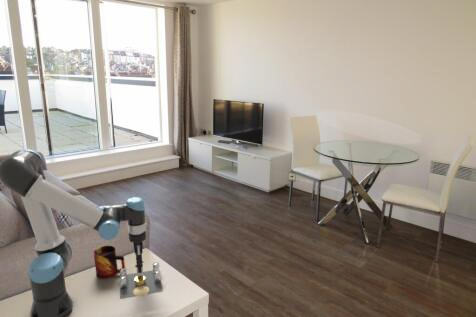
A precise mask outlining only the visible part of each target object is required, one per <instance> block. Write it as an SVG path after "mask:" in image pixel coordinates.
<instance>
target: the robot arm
mask: <svg viewBox="0 0 476 317" xmlns="http://www.w3.org/2000/svg"><path fill="white" fill-rule="evenodd" d="M44 164H45V162H44V159H43V157H42V155H41V154H40V153H38V152H37V151H35V150H33V149H30V148H24V149H20V150H19V149H18V151H17V150H16V151H14V152H13V153H12V154H10V155H9V156H7V157H6V158H5V159H3V160H2V161H1V162H0V182H1V184H2V185H4V186H5V187H6V188H7V189H9V190H10V191H12V192H14V193H16V194H17V195H19V196H20V197H21V201H22V203H23V207H24V209H25V212H26V214H27V218H28V220H29V223H30V226H31V228H32V232H33V233H34V237H35V240H36V244H35V246H34V250H35V252H36V255H37V257H34V258H33V260H32V261H31V262H29V265H28V276H29V281H30V282H29V283H30V287H31V293H32V299H33V300H32V305H31V307H30V308H31V309H30V312H29V313H30V314H29V315H30V317H68V316H69V315H70V314H71V312H72V311H73V309H74V308H73V307H74V302H73V300H72V298H71V296H70V295H69V293H68V291H67V287H66V286H67V285H66V279H65V278H66V277H65V275H66V272H67V269H68V266H69V264H70V261H71V259H72V253H73V249H72V248H73V247H72V246H71V243H70V242H69V241H67V240H66V237H65V236H64V235H62V234H60V231H59V229H58V225H57V222H56V220H55V217H54V214H53V211H52V209H54V210H55V211H58V212H59V213H61V214H63V215H65V216H67V217H69V218H71V219H73V220H75V221H77V222H79V223H81V224H83V225H85V226H87V227H89V228H91V229H93V230H95V231H96V232H98V235H99V236H100V238H101V239H103V240H106V241H107V240H108V241H109V240H113V239H115V238H116V237H117V236H118V234H119V232H120V228H121V226H120V224H121V222H127V230H128V241H129V242H130V243H133V250H134V255H135V263H136V264H135V265H134V268H136V273H137V276H141V275H143V272H144V269H143V268H144V267H143V266H144V260H143V248H144V246H143V242H144V241H145V240H146V239H147V230H146V228H147V225H148V224H147V223H146V212H145V200H144V199H143V198H142V197H139V196H138V197H137V196H134V197H130V198H128V199H127V200H125V201H126V203H122V204H121V203H120V204H109V205H108V204H106V205H100V206H98V207H96V206H93V205H92V204H90V203H88V202H87V201H84V200H83V199H80V198H79V197H77V196H75V195H74V194H73V193H70V192H68V191H66V190H64V189H62V188H61V187H58V186H56V185H55V184H54V183H51V182H50V181H47V180H46V176H45V173H44V170H43V169H44V166H45V165H44Z"/></svg>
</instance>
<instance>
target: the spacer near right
mask: <svg viewBox="0 0 476 317" xmlns="http://www.w3.org/2000/svg"><path fill="white" fill-rule="evenodd" d="M161 278H162V276H161V270H160V269H159V270H156V271H154V283H160V282H161V283H162V279H161Z"/></svg>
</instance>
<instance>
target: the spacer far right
mask: <svg viewBox="0 0 476 317" xmlns="http://www.w3.org/2000/svg"><path fill="white" fill-rule="evenodd" d="M152 270H153V274H154V271H156V270H159V271H160V262H153V263H152Z"/></svg>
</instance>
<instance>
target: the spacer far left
mask: <svg viewBox="0 0 476 317" xmlns="http://www.w3.org/2000/svg"><path fill="white" fill-rule="evenodd" d="M119 269H120V273H119V278H120V277H121V276H126V278H127V274H128V273H127V267H126V266H125V267H122V266H121V267H120V268H119Z"/></svg>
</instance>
